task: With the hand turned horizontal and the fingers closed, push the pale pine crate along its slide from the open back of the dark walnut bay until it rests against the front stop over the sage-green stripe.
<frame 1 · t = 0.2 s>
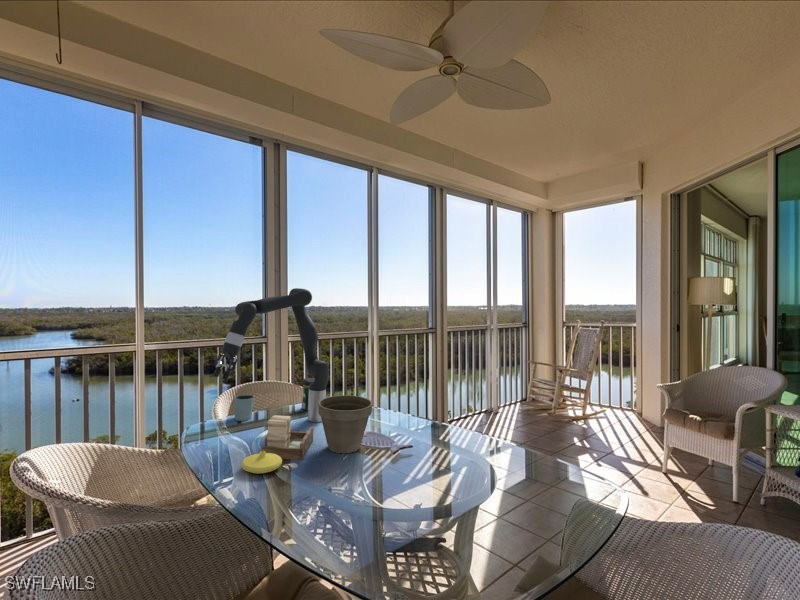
hand: (219, 378, 186), 31 cm above the table, tool tilted 20°, fingers open, 8 cm apart
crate: (279, 431, 188), point 8 cm above the table, slide at 0.0 cm
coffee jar: (309, 408, 250), on the table
bay: (288, 449, 188), on the table
drinking glass: (243, 418, 226), on the table
yellow knobbed lid: (261, 469, 167), on the table
plant pot: (343, 448, 193), on the table
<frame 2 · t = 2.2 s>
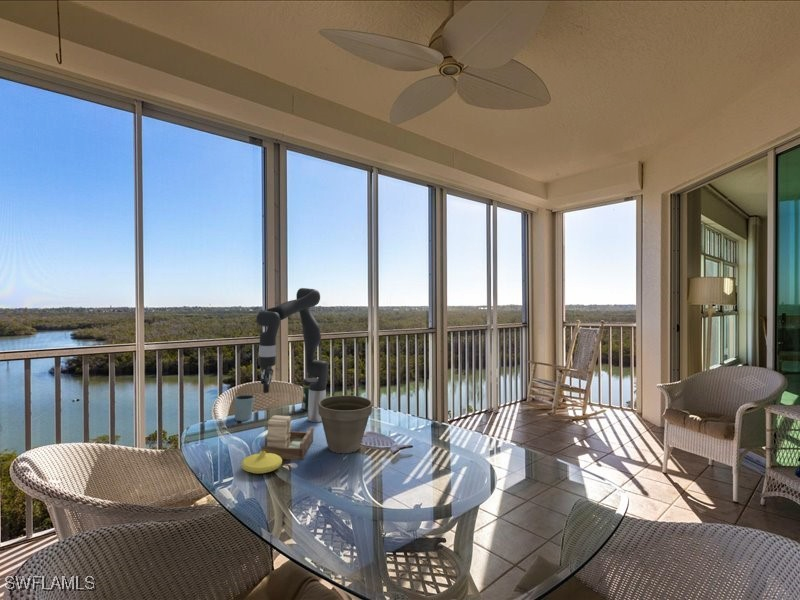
hand: (266, 392, 189), 25 cm above the table, tool pointing down, fingers closed
nothing on the table moved.
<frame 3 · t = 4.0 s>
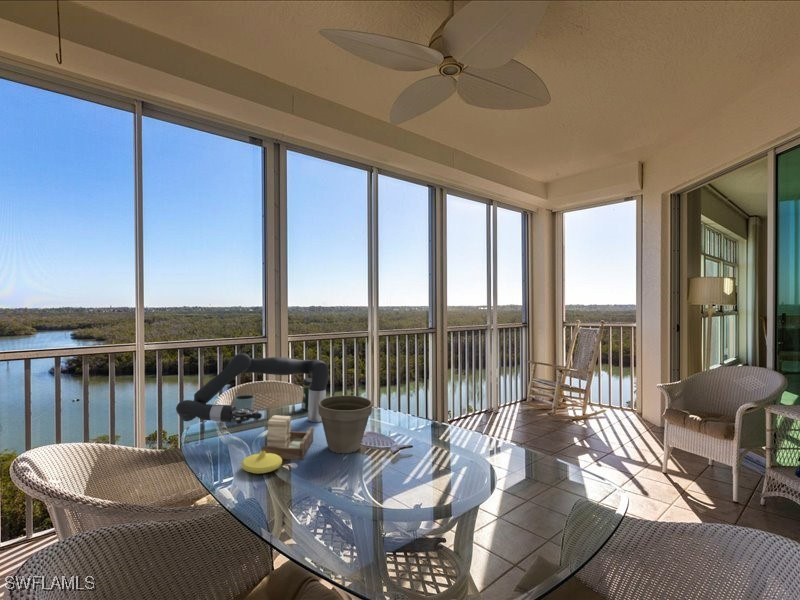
hand: (261, 416, 188), 15 cm above the table, tool horizontal, fingers closed
nothing on the table moved.
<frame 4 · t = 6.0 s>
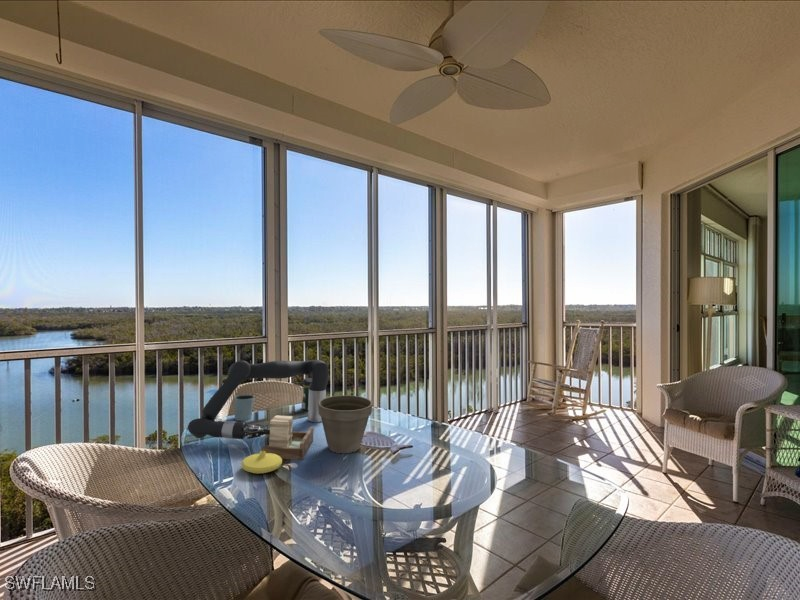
hand: (272, 432, 188), 7 cm above the table, tool horizontal, fingers closed
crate: (281, 431, 188), point 8 cm above the table, slide at 1.0 cm, touching gripper
everything else where it was.
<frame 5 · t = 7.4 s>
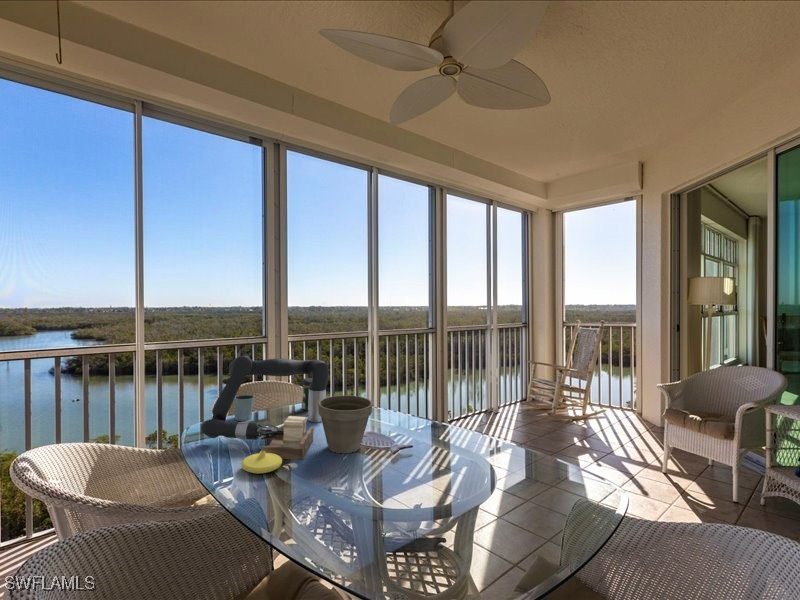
hand: (286, 432, 188), 7 cm above the table, tool horizontal, fingers closed
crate: (294, 432, 188), point 8 cm above the table, slide at 7.1 cm, touching gripper
everything else where it was.
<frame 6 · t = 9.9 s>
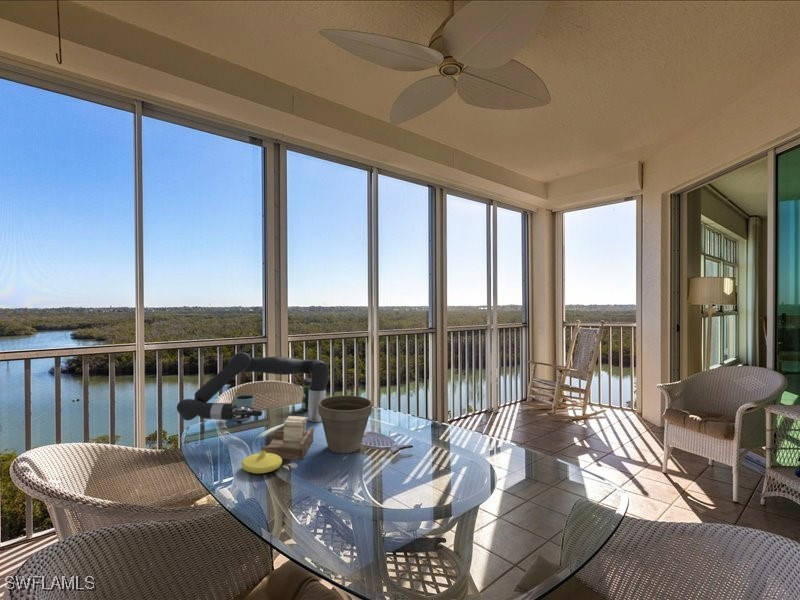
hand: (261, 413, 188), 16 cm above the table, tool horizontal, fingers closed
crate: (294, 432, 188), point 8 cm above the table, slide at 7.2 cm
everything else where it was.
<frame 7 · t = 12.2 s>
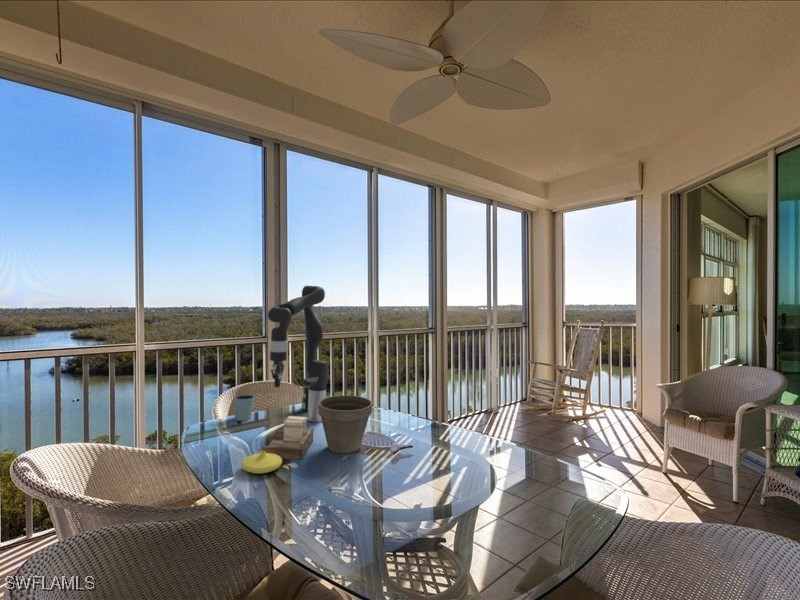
hand: (277, 386, 194), 27 cm above the table, tool pointing down, fingers closed
nothing on the table moved.
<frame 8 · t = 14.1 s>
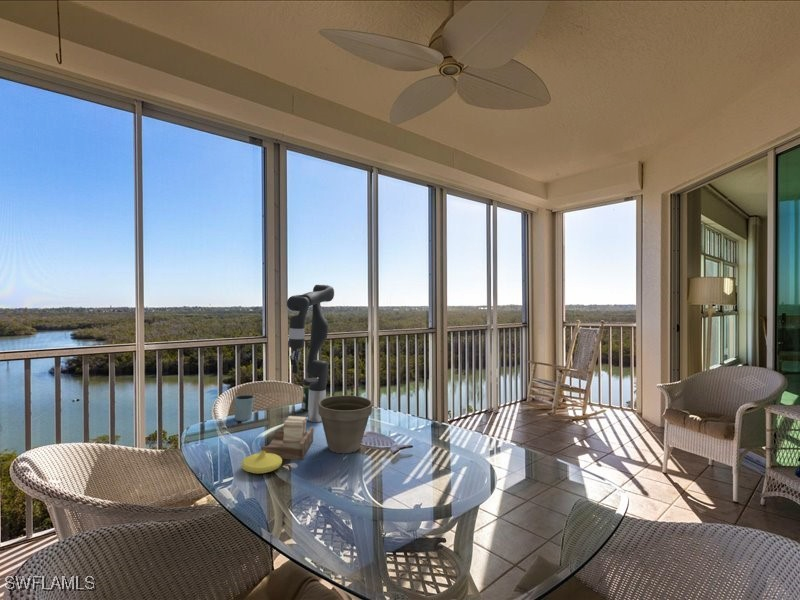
hand: (295, 372, 201), 32 cm above the table, tool pointing down, fingers closed
nothing on the table moved.
at the end: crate slide at 7.2 cm; yellow knobbed lid moved 0.4 cm from its start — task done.
